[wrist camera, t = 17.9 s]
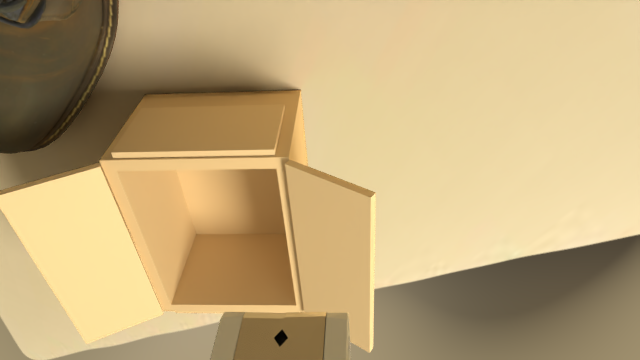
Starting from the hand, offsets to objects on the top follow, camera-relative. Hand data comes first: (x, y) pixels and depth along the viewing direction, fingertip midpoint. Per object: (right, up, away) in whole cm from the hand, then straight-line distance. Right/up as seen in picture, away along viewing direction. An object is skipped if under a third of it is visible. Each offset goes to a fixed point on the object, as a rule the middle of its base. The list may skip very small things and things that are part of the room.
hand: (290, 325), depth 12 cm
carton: (-7, +4, +36) cm, 37 cm away
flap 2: (-1, -2, +28) cm, 28 cm away
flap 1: (-14, -2, +29) cm, 32 cm away
